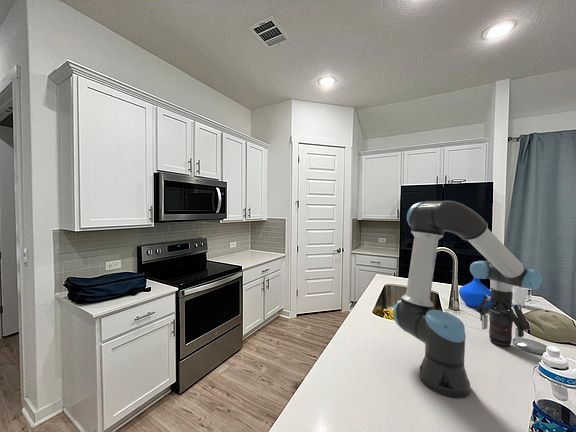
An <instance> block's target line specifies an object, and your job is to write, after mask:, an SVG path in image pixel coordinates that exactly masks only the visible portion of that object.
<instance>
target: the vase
mask: <svg viewBox="0 0 576 432" xmlns="http://www.w3.org/2000/svg"><path fill="white" fill-rule="evenodd" d="M458 295H459V297H460V299H461V300H462V301H463V302H464V304H466V306H469V307H471V306H472V307H471V308H475V307H477V308H478V306H479V305H480V303H481V302H482V301H483V297H484V296H485V295H489V296H490V297H491V289H489V288H488V287H487V286H486V285H484V284H483V283H482V282H481V281H480V279H478V278H475V277H474V276H473V280H472V281H471V282H469V283H467V284H465V285H462V286H460V288H459V289H458ZM490 304H492V302H491V300H490V301H489V302H488V303H487V305H486V306H485V308H484V309H486V308H487V307H488V306H489V305H490ZM477 308H476V309H477Z"/></svg>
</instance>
